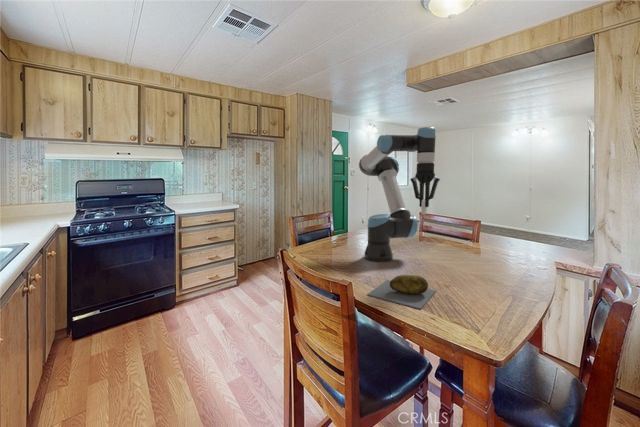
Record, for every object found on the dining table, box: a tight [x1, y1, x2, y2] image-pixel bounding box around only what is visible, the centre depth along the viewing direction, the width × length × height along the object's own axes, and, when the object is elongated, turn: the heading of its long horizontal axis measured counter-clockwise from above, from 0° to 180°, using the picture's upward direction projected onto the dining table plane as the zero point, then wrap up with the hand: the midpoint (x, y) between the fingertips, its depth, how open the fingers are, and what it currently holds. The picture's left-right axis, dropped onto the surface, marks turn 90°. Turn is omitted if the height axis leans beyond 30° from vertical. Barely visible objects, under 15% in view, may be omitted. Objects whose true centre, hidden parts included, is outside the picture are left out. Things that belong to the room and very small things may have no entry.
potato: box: [390, 274, 429, 294], centre depth 108 cm, size 8×13×8 cm
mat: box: [366, 279, 437, 310], centre depth 108 cm, size 20×18×1 cm
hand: (423, 214), depth 133 cm, fingers closed
